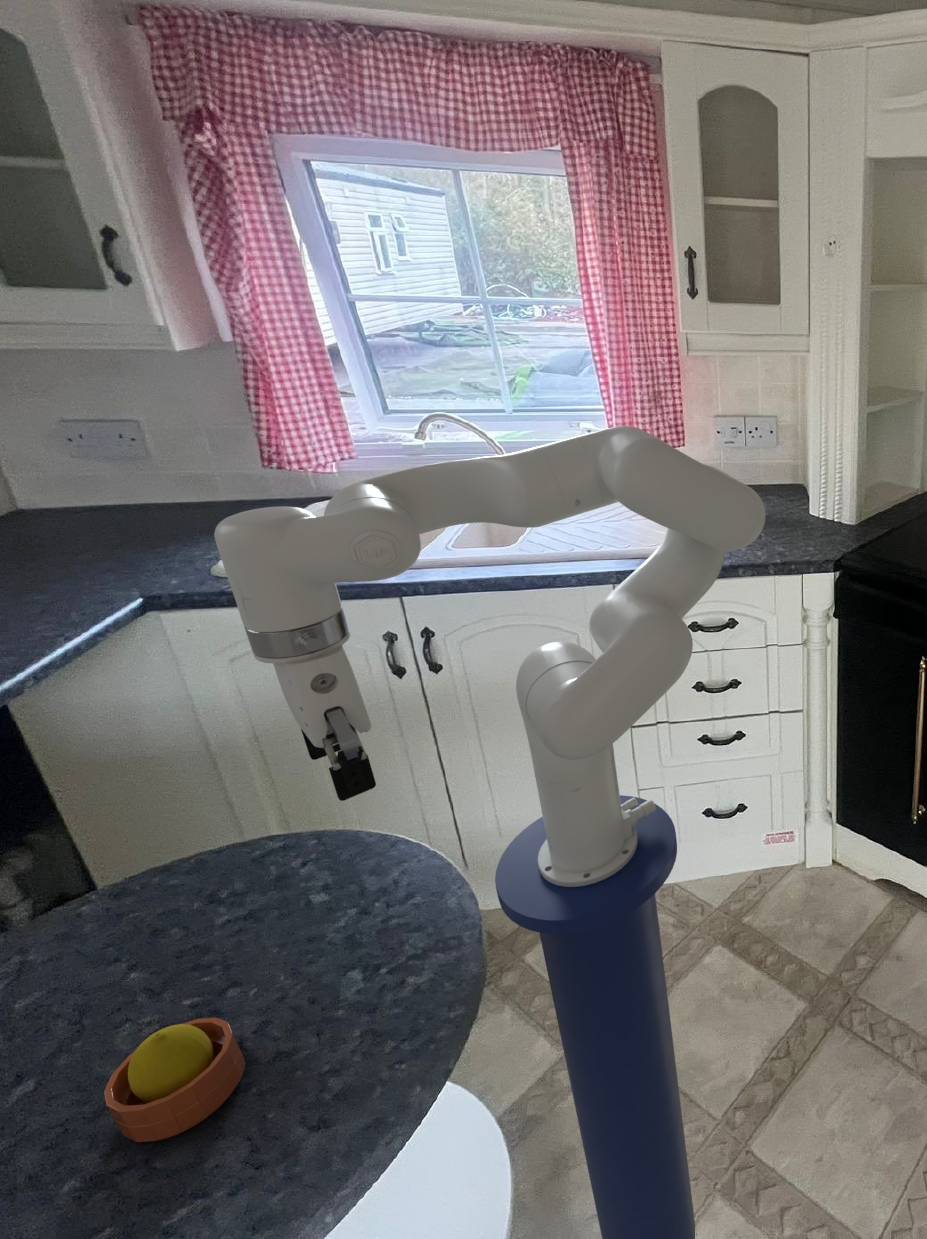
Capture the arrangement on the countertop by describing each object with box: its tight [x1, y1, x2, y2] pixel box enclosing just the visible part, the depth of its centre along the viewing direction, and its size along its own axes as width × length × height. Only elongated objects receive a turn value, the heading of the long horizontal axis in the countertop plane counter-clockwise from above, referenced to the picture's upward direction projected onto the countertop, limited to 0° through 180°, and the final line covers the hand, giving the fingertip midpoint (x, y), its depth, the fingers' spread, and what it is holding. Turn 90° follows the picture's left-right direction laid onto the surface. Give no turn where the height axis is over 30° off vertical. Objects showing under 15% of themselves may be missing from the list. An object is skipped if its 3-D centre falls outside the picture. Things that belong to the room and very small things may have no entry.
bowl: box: [103, 1017, 247, 1143], centre depth 69 cm, size 9×9×5 cm
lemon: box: [128, 1023, 213, 1103], centre depth 69 cm, size 6×6×8 cm
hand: (342, 772), depth 78 cm, fingers open, 9 cm apart
